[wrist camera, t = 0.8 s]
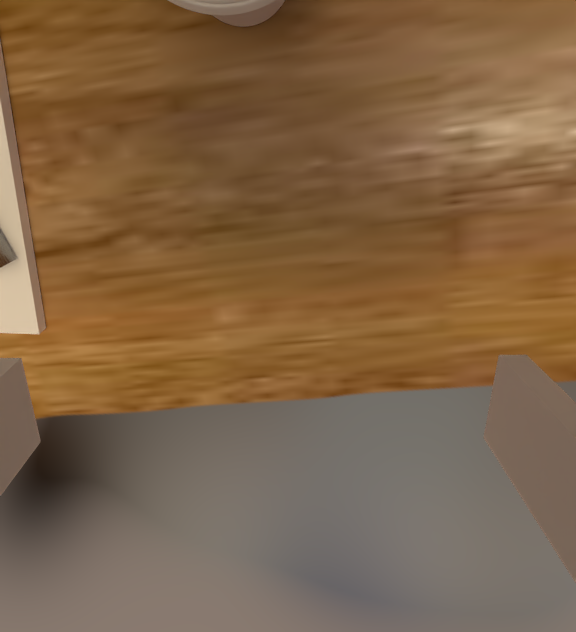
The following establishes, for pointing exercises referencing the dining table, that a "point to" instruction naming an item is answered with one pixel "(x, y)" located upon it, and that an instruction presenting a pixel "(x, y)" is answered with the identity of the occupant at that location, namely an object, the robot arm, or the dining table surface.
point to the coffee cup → (234, 10)
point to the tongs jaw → (5, 252)
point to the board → (16, 233)
